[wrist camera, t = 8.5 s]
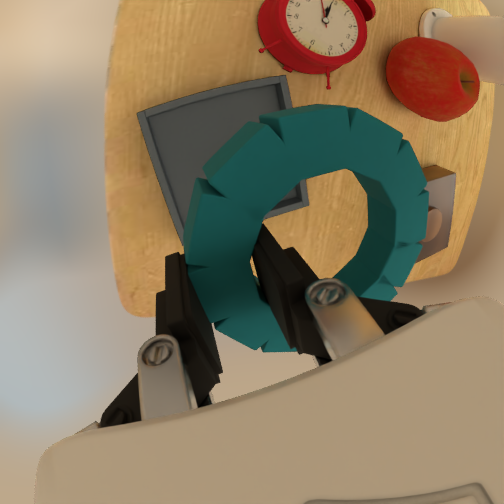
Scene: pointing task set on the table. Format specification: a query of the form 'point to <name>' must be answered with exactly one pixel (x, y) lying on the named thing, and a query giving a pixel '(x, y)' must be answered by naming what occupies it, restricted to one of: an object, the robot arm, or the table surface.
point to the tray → (208, 138)
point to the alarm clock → (314, 32)
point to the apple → (432, 78)
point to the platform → (438, 209)
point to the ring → (277, 187)
